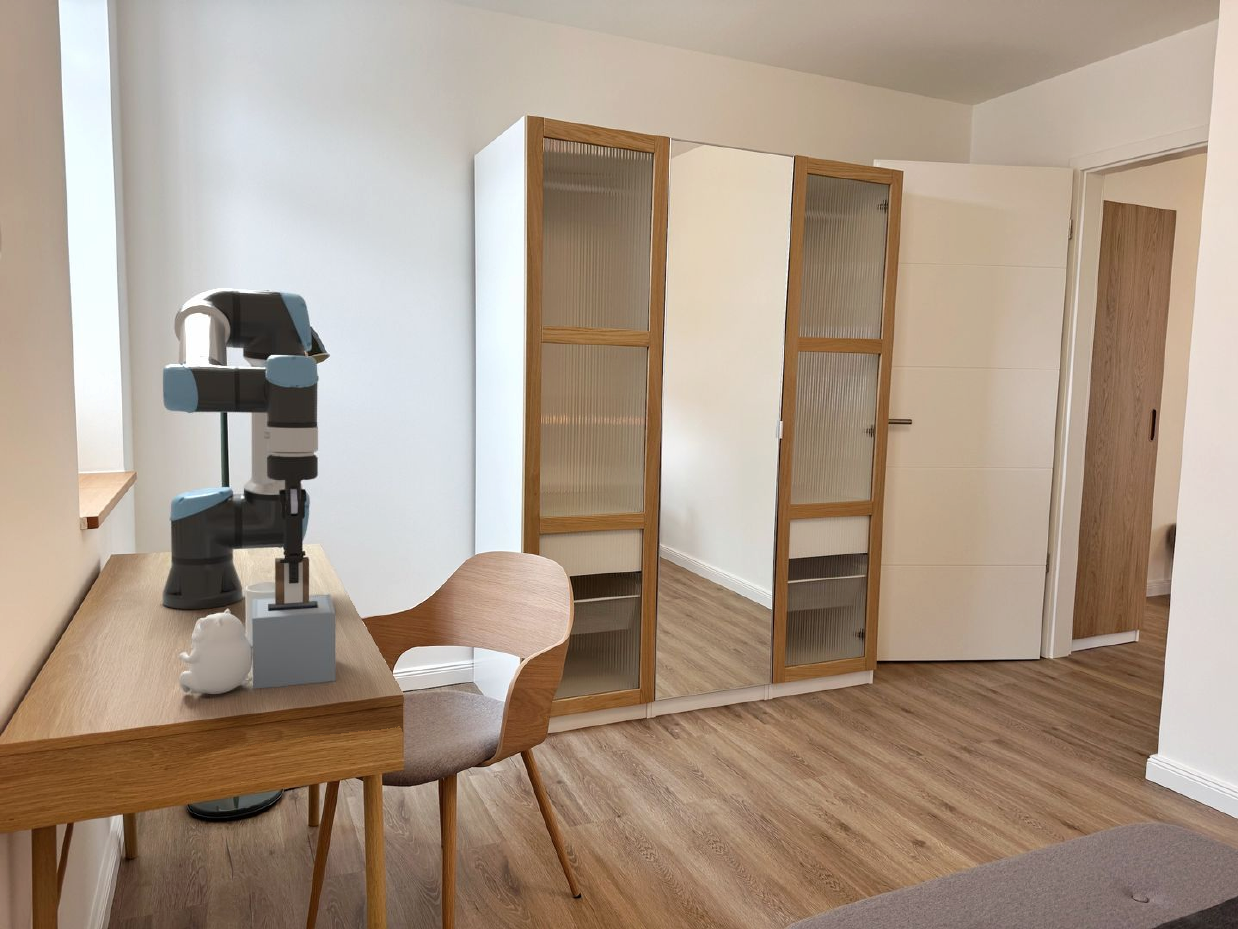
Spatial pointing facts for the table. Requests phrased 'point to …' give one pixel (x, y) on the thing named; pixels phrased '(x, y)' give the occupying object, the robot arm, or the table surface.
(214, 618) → the figurine
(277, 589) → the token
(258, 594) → the cup
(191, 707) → the table surface
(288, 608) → the coin box
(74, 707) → the table surface
